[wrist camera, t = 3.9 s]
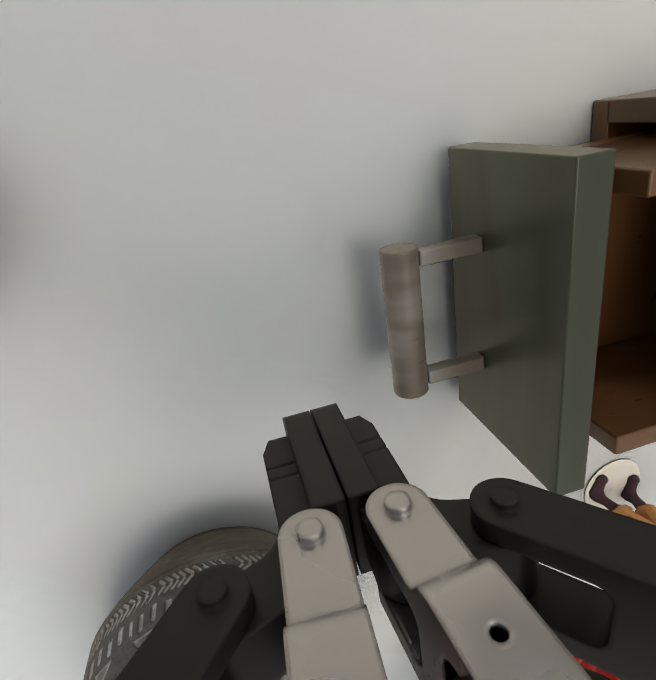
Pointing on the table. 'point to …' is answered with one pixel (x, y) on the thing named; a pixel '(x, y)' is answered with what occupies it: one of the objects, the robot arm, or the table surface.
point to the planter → (168, 592)
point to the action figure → (619, 491)
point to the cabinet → (624, 115)
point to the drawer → (542, 299)
